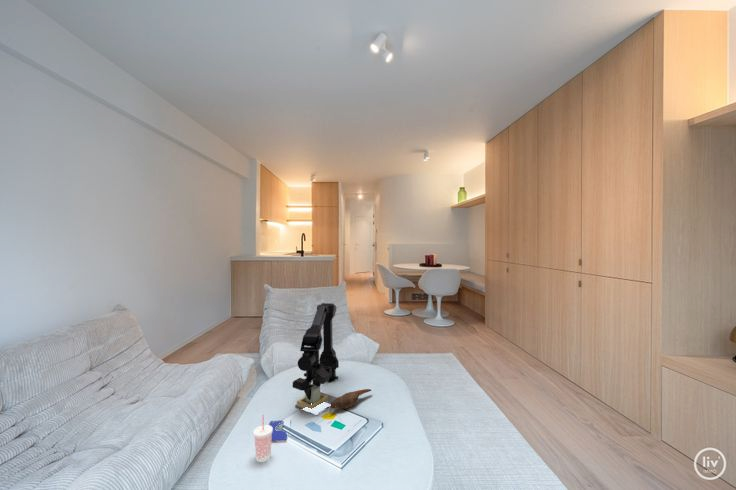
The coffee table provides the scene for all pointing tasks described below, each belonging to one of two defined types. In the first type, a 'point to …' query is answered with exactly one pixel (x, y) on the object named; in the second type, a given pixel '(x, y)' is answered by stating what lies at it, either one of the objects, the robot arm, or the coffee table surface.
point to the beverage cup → (263, 441)
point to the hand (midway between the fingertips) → (312, 397)
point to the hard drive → (277, 433)
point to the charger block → (314, 394)
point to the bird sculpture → (347, 399)
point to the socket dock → (323, 397)
